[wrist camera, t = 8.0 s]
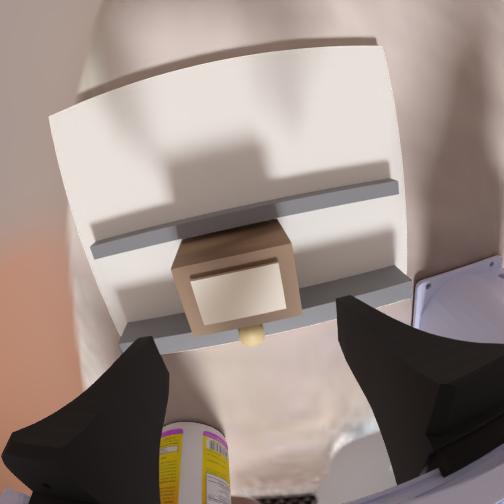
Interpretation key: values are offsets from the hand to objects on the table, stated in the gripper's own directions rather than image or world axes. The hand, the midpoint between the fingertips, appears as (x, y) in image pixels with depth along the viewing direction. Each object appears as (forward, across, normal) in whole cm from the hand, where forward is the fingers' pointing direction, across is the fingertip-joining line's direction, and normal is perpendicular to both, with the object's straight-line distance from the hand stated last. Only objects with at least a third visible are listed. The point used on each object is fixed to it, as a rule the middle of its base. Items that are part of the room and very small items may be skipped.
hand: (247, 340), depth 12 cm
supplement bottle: (+8, +8, +16) cm, 20 cm away
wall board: (+8, -1, -3) cm, 9 cm away
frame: (+8, 0, 0) cm, 8 cm away
